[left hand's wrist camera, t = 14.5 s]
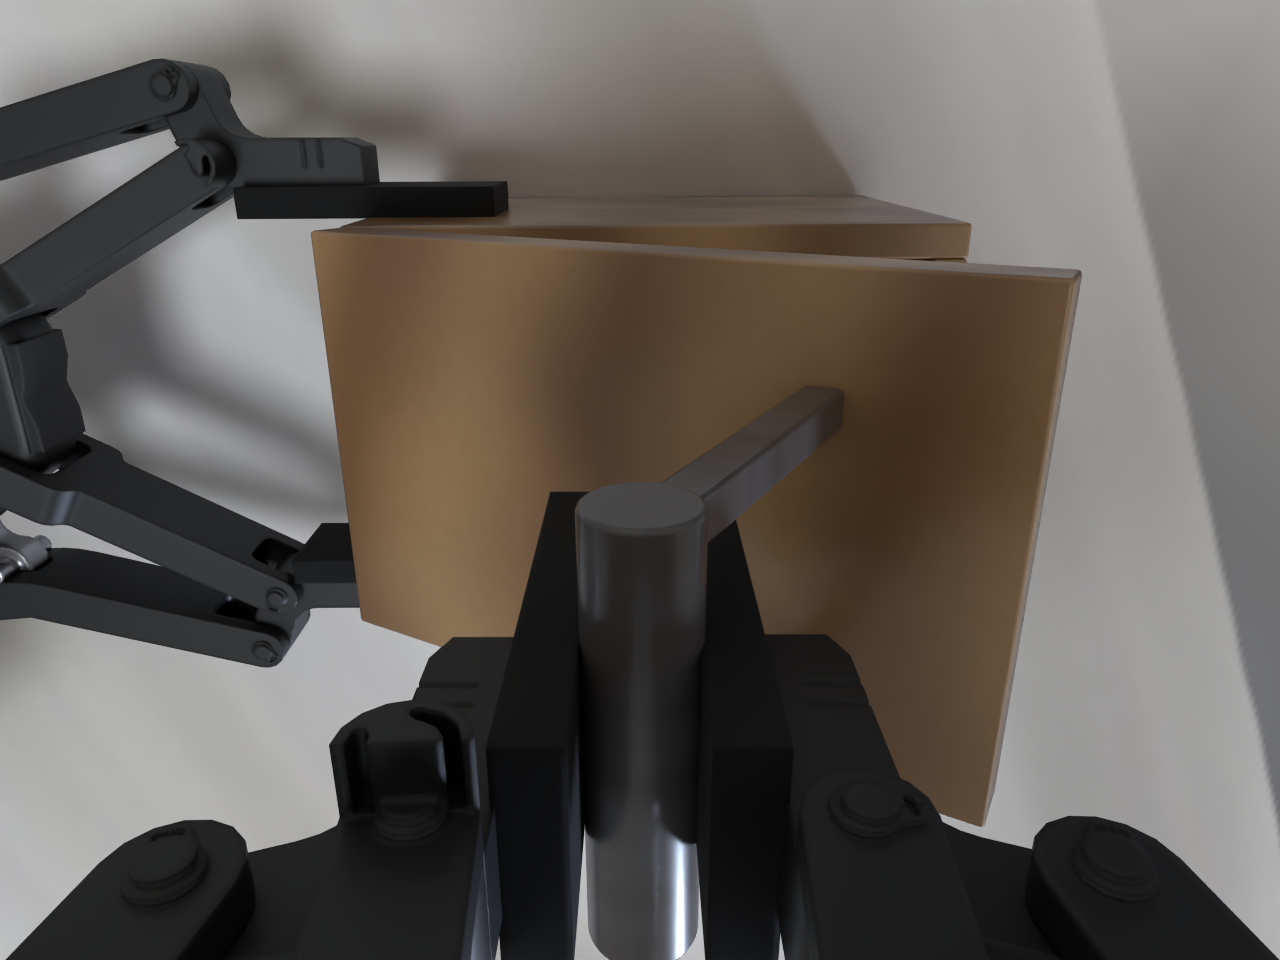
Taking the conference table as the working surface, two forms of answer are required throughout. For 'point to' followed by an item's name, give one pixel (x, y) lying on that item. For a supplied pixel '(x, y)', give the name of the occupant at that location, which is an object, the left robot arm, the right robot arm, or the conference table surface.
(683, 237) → the chest
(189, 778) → the conference table surface
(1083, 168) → the conference table surface
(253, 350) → the conference table surface
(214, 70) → the right robot arm
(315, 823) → the conference table surface
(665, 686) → the lid
